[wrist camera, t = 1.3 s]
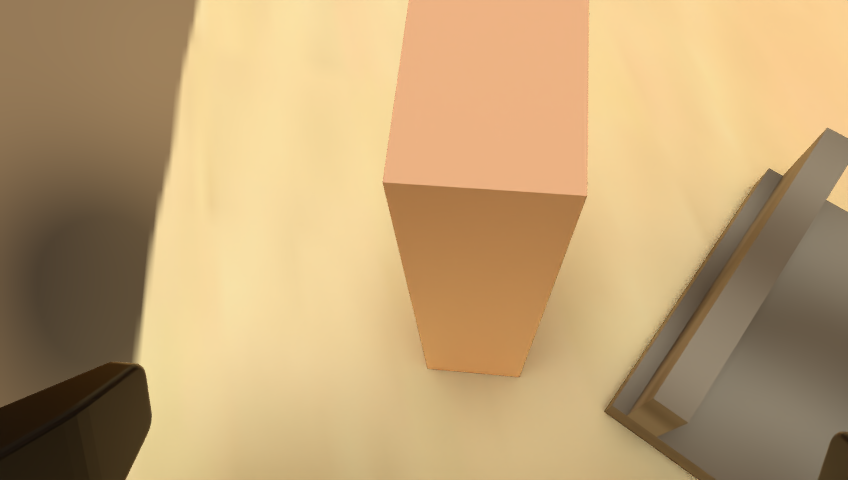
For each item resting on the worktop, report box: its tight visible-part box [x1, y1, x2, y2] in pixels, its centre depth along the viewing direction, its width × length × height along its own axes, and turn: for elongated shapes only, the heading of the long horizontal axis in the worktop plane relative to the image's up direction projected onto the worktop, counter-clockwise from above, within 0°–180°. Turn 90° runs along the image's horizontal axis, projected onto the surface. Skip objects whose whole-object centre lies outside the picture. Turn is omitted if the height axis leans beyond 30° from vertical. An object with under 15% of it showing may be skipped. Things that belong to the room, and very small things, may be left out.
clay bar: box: [383, 0, 589, 377], centre depth 17 cm, size 4×3×13 cm, turn 174°
